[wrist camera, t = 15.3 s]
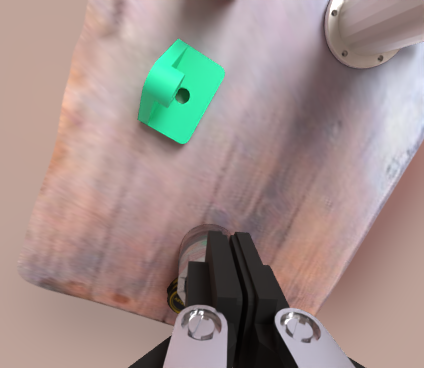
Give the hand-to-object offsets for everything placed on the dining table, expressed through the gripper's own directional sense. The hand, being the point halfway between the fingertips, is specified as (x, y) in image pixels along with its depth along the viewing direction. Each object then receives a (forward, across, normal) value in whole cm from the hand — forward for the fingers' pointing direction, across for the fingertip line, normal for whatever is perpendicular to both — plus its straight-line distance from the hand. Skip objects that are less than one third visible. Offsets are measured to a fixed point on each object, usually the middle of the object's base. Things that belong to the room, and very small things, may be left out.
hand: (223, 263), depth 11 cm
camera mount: (+32, +3, -7) cm, 33 cm away
